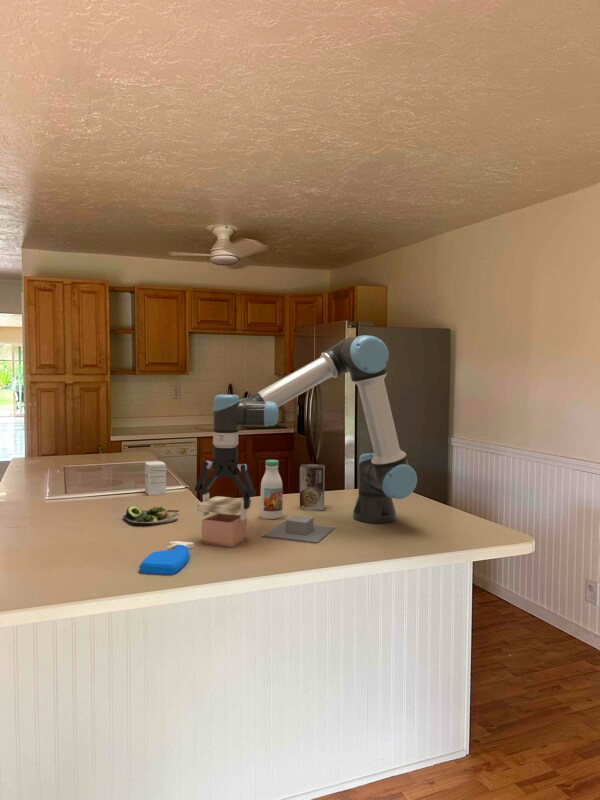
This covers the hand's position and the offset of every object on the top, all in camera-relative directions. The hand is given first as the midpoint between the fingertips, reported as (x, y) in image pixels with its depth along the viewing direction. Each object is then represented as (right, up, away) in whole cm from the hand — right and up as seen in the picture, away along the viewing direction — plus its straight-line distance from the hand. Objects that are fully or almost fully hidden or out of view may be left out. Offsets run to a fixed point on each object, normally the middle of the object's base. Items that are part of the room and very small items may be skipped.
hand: (224, 517), depth 182 cm
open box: (0, -7, 0) cm, 7 cm away
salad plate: (-29, -6, +24) cm, 38 cm away
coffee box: (+27, -5, +44) cm, 52 cm away
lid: (0, +3, 0) cm, 3 cm away
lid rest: (+23, -7, +10) cm, 26 cm away
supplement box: (-36, -3, +64) cm, 74 cm away
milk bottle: (+13, -6, +30) cm, 33 cm away
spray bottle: (-12, -9, -17) cm, 23 cm away
